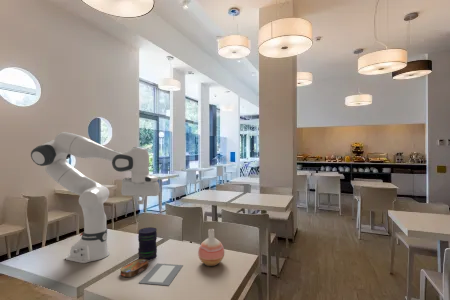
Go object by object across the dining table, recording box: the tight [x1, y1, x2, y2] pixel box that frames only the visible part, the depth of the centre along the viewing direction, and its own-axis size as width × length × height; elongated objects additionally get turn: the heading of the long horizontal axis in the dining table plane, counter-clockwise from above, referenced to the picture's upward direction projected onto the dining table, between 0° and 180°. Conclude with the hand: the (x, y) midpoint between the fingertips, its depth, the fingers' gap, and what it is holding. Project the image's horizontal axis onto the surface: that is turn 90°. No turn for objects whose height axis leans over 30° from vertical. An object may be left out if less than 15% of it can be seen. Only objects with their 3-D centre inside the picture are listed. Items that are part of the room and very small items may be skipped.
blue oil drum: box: [137, 226, 158, 261], centre depth 136 cm, size 10×10×15 cm
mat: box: [138, 262, 184, 287], centre depth 117 cm, size 14×19×1 cm
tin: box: [120, 258, 150, 278], centre depth 120 cm, size 15×3×8 cm
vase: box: [197, 228, 225, 267], centre depth 127 cm, size 14×14×18 cm
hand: (140, 204), depth 128 cm, fingers closed
